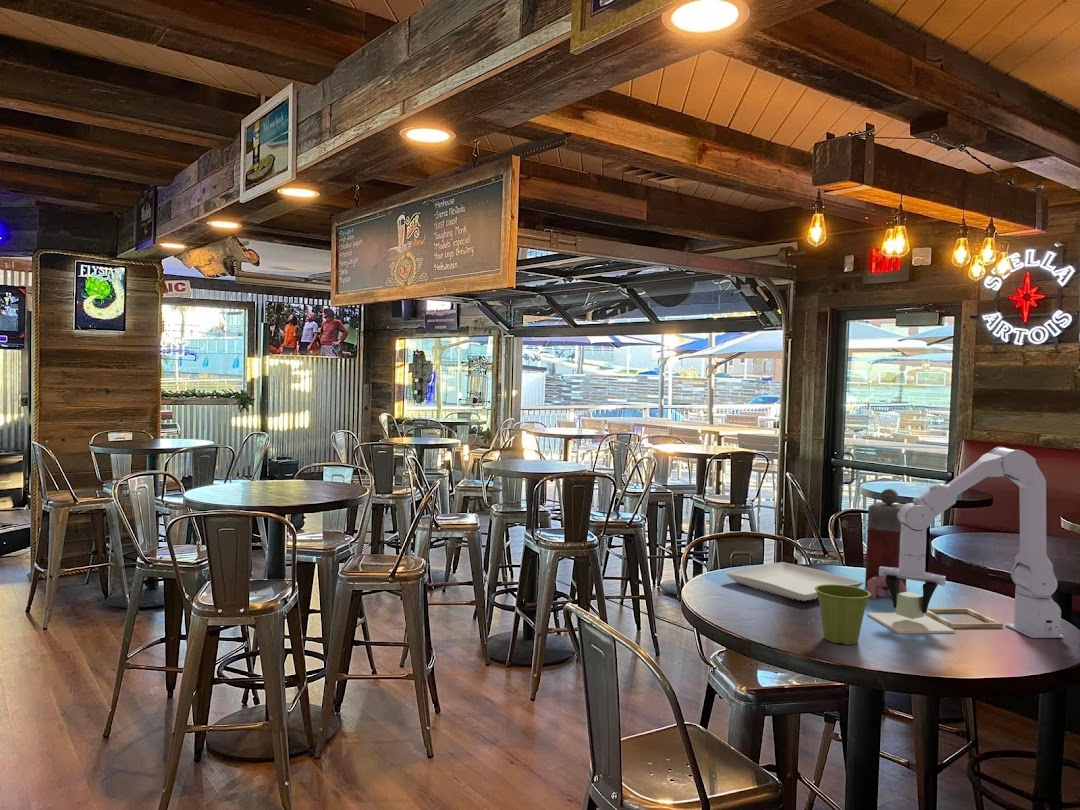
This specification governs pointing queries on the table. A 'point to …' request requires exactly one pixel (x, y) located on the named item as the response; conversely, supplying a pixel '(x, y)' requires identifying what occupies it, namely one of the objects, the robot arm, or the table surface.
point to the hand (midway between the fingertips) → (910, 609)
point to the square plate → (789, 579)
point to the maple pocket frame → (950, 624)
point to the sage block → (909, 605)
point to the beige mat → (910, 623)
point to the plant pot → (841, 612)
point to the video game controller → (878, 582)
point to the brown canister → (883, 535)
